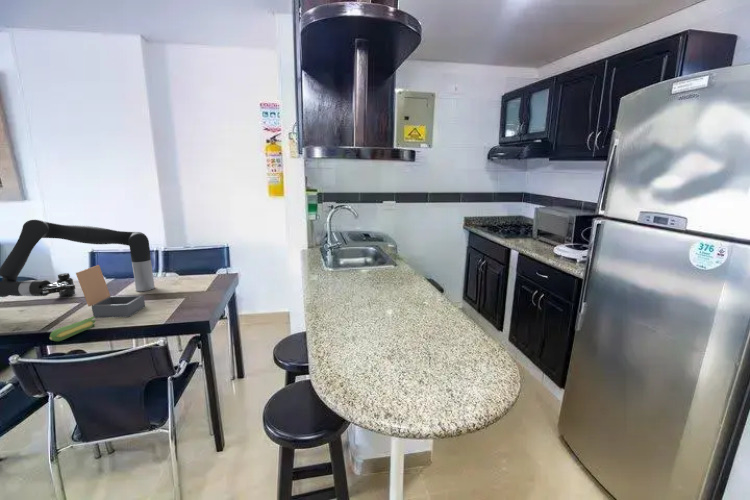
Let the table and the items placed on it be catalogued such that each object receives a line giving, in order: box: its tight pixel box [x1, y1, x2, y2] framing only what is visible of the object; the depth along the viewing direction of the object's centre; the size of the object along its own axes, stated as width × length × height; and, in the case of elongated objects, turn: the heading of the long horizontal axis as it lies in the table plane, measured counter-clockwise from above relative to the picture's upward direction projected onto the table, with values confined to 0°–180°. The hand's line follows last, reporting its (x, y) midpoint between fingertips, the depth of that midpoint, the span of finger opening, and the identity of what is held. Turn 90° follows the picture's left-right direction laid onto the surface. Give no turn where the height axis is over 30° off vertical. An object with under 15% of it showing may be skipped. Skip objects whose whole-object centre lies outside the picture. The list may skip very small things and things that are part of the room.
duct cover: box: [75, 264, 111, 307], centre depth 167 cm, size 14×16×1 cm
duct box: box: [91, 294, 146, 319], centre depth 170 cm, size 13×16×6 cm
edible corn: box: [49, 316, 97, 342], centre depth 149 cm, size 5×20×5 cm
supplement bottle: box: [56, 272, 76, 298], centre depth 193 cm, size 7×7×12 cm
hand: (74, 287), depth 167 cm, fingers closed
